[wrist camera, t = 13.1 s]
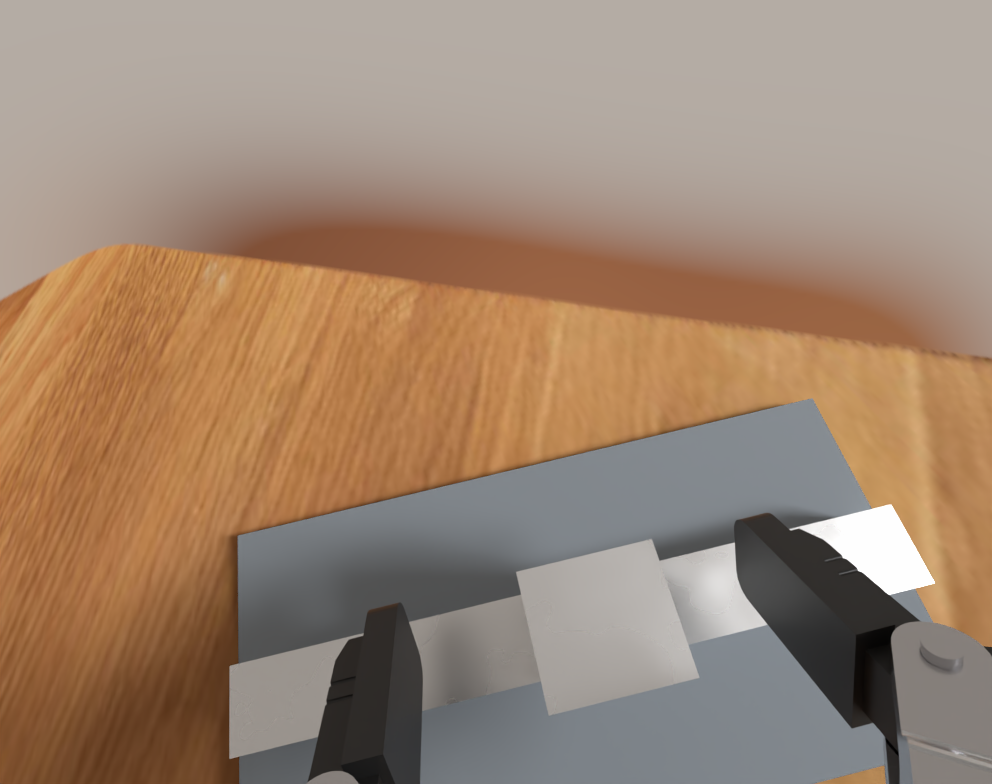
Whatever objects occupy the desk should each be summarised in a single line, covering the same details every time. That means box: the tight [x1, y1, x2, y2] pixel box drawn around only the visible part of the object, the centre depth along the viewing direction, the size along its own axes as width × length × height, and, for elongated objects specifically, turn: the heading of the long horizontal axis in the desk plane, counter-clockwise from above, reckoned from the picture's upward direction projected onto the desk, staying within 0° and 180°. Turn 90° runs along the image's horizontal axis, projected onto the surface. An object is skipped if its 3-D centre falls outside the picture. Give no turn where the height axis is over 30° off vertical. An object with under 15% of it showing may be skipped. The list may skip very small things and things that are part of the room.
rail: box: [229, 504, 935, 759], centre depth 14 cm, size 22×2×10 cm, turn 103°
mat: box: [238, 399, 933, 784], centre depth 19 cm, size 24×12×1 cm, turn 103°
